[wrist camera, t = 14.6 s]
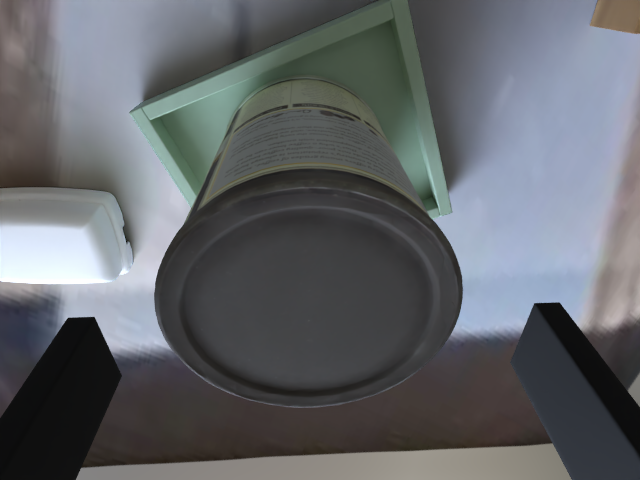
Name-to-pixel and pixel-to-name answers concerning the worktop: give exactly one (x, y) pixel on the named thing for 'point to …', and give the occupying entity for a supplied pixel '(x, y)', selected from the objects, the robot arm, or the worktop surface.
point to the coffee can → (307, 256)
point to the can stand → (617, 15)
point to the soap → (61, 236)
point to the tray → (320, 60)
